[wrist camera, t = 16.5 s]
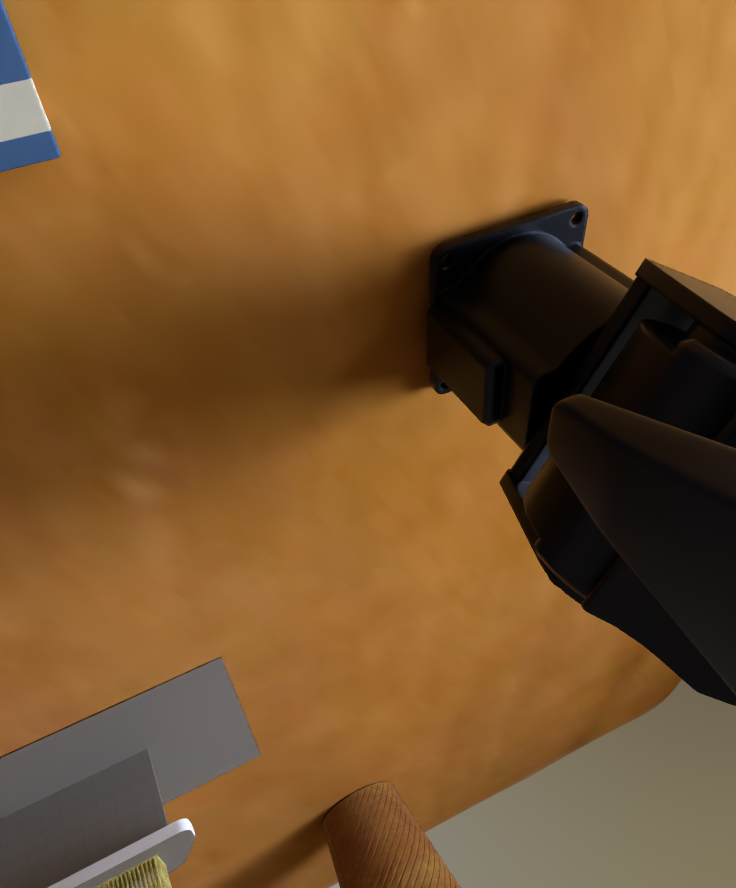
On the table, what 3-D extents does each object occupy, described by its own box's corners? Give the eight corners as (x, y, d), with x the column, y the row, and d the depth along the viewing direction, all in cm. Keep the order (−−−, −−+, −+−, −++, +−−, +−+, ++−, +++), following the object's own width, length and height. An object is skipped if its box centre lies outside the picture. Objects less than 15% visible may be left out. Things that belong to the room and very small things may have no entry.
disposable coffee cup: (429, 770, 58) (513, 922, 50) (350, 838, 60) (419, 996, 52) (366, 766, 51) (452, 942, 43) (278, 843, 53) (345, 1026, 45)
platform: (260, 754, 42) (302, 863, 38) (-57, 915, 37) (-50, 1063, 32) (221, 657, 34) (269, 783, 29) (-197, 848, 28) (-214, 1034, 24)
